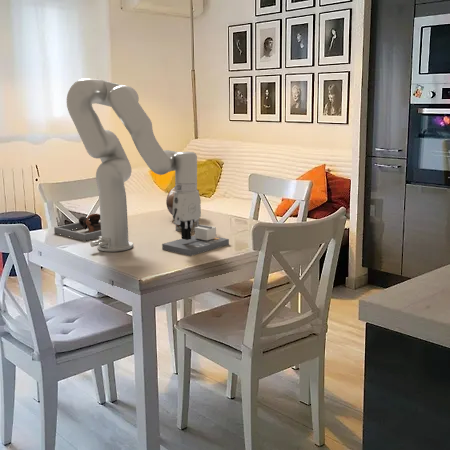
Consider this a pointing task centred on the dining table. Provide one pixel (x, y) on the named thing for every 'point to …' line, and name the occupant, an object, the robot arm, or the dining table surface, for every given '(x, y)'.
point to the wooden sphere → (171, 201)
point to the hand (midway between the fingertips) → (186, 238)
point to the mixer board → (194, 245)
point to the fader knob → (205, 232)
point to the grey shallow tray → (67, 231)
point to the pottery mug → (91, 222)
